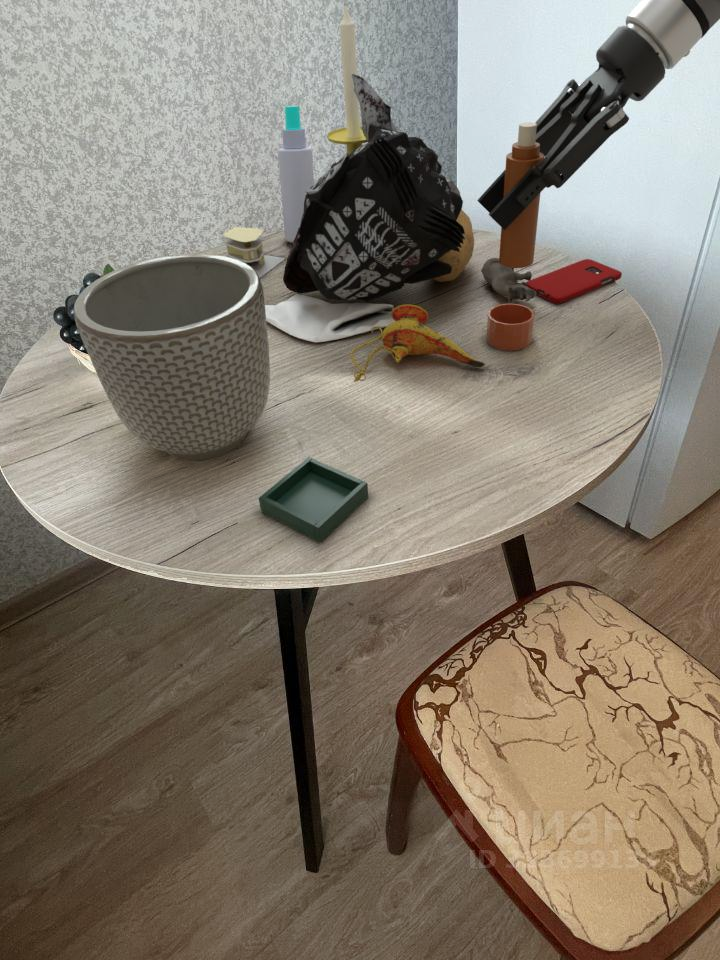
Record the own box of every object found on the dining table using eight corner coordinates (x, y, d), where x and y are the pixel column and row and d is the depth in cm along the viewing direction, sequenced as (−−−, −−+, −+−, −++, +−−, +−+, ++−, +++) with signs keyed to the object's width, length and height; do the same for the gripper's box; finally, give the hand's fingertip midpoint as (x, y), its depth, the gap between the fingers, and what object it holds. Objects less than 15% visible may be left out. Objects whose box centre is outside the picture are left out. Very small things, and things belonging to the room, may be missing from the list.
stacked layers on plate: (211, 271, 123) (204, 240, 119) (239, 251, 129) (234, 221, 125) (259, 278, 119) (253, 247, 115) (285, 258, 125) (281, 227, 121)
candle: (360, 243, 128) (345, -4, 103) (401, 256, 122) (395, -2, 98) (321, 261, 122) (295, 6, 98) (362, 276, 117) (345, 9, 93)
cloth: (232, 330, 105) (229, 316, 104) (276, 291, 115) (274, 278, 113) (392, 357, 96) (391, 343, 95) (425, 313, 106) (425, 299, 104)
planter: (114, 414, 90) (64, 275, 78) (260, 377, 95) (235, 239, 83) (135, 508, 76) (79, 356, 64) (306, 458, 81) (284, 307, 68)
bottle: (539, 258, 91) (554, 121, 81) (523, 270, 89) (537, 131, 78) (508, 252, 93) (519, 118, 83) (492, 264, 91) (501, 127, 80)
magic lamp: (484, 336, 98) (479, 406, 94) (357, 324, 99) (347, 393, 95) (491, 307, 92) (487, 381, 88) (356, 295, 93) (345, 368, 89)
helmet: (245, 264, 89) (407, 70, 83) (220, 225, 110) (347, 69, 104) (380, 382, 102) (527, 222, 97) (335, 327, 124) (453, 194, 118)
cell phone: (558, 299, 105) (557, 305, 105) (624, 271, 110) (623, 277, 111) (521, 282, 110) (521, 287, 110) (587, 256, 115) (586, 262, 116)
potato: (404, 292, 111) (403, 235, 105) (433, 254, 122) (434, 200, 116) (456, 299, 108) (458, 240, 102) (482, 259, 119) (485, 203, 113)
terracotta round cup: (538, 335, 99) (541, 310, 96) (518, 355, 95) (521, 328, 93) (499, 325, 102) (501, 299, 99) (478, 343, 98) (480, 317, 96)
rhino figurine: (543, 313, 105) (505, 317, 104) (509, 274, 115) (475, 277, 114) (547, 287, 102) (509, 291, 101) (513, 250, 112) (477, 253, 111)
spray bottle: (308, 244, 126) (299, 106, 115) (279, 242, 129) (267, 107, 118) (323, 237, 131) (315, 105, 120) (295, 236, 133) (285, 106, 122)
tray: (368, 497, 75) (367, 482, 74) (320, 543, 70) (318, 528, 69) (310, 470, 79) (308, 456, 78) (261, 512, 74) (258, 497, 73)
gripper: (702, 89, 72) (532, 260, 82) (629, 59, 86) (490, 210, 95) (664, 33, 68) (491, 220, 78) (594, 12, 82) (453, 174, 91)
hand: (490, 214), depth 86 cm, fingers closed on bottle, 4 cm apart
